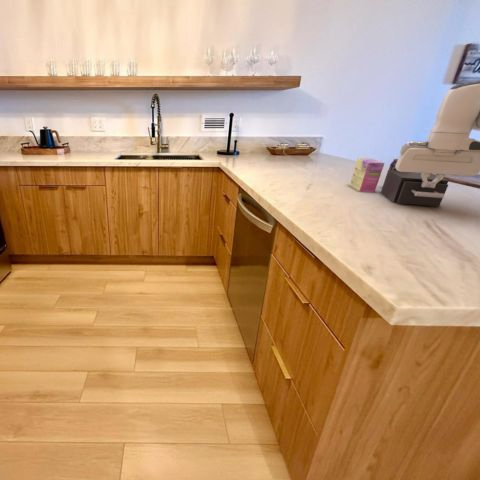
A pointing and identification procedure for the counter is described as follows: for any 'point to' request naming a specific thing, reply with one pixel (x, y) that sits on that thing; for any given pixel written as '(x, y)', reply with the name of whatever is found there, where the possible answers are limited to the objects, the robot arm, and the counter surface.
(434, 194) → the basket
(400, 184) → the fryer
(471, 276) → the counter surface
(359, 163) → the box
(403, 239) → the counter surface
